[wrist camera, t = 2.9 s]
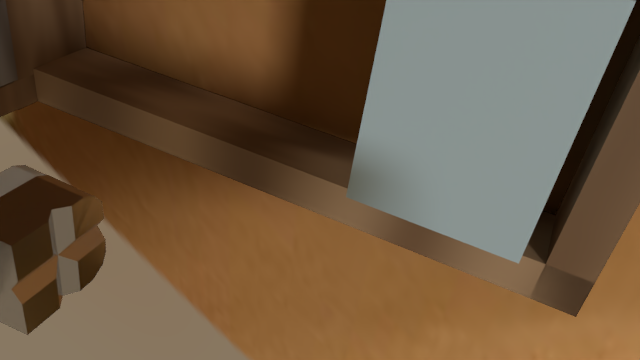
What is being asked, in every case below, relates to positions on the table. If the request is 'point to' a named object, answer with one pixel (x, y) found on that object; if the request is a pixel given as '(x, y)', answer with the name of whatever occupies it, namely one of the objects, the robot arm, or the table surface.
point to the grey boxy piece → (479, 111)
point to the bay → (319, 152)
